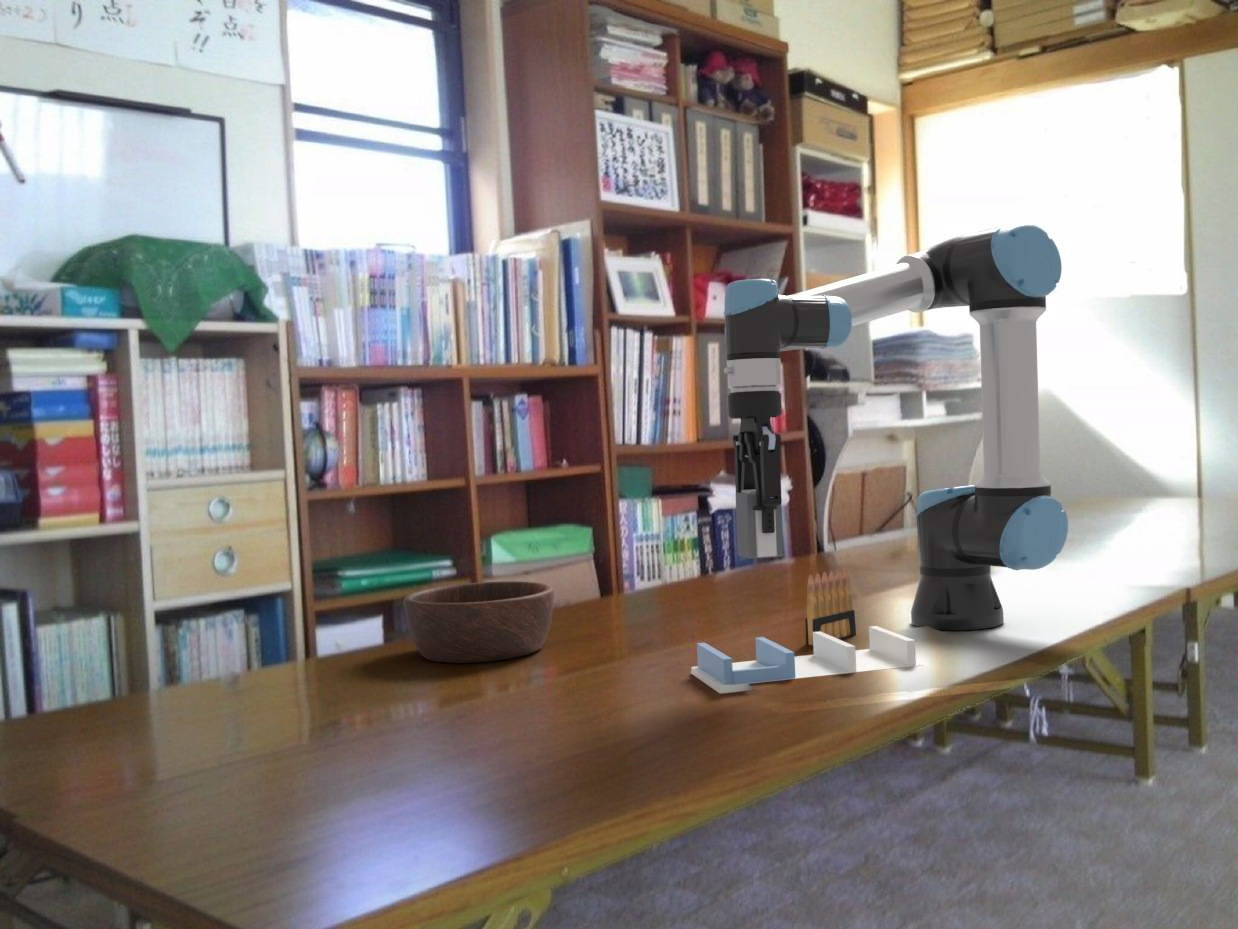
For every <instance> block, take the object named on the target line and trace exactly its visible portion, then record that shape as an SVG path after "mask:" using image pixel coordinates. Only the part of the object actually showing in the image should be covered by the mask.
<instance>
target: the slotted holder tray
mask: <svg viewBox="0 0 1238 929" xmlns="http://www.w3.org/2000/svg"><path fill="white" fill-rule="evenodd" d="M868 638H869V640H868V641H869V648H866V649H865V648H864V649H858V650H857V649H856V645H853V644H851V643H849V642H846V641H844V640H842V639H837V638H835V637H832V636H830V635H828V634H825V633H823V632H821V631H819V632H813V645H812V647H813V648H812V649H813V654H807V655H797V656H795V652H794V651H793V650H790V649H788V648H787V647H784V646H783V645H781V644H779V643H776V642H774V641H772V640H770V639H768V638H766V637H764V636H759V637H755V656H756V658H755V659H756V660H748V661H738V662H737V661H736V662H733V658H732V657H730V656H728V655H726V654H725V653H723V652H721V651H719V650H718V649H716V648H715V647H713V646H711V645H710V644H708V643H706V642H696V654H697V666H691V668H690V670H691V671H690V672H691V675H693V676H694V677H695V678H696V679H699V681H701V682H703V683H704V684H705V685H707V686H708V687H710V688H712V689H713V690H714V691H715V692H717V693H718V694H729V693H738V692H748V691H750V692H751V691H756V690H757V689H756V687H753V686H752V685H751V684H758V683H767V682H769V683H770V682H777V681H778V682H779V681H787V680H795V679H796V680H797V679H806V678H813V677H814V678H816V677H825V676H833V675H836V676H837V675H843V674H854V673H862V672H864V673H865V672H873V671H882V670H892V669H902V668H909V667H910V668H911V667H919V666H923V664H922V663H920V662H918V661H917V659H916V658H917V655H916V654H917V653H916V639H913V638H910V637H908V636H904V635H902V634H899V633H896V632H894V631H891V630H888V629H886V628H883V627H880V626H877V625H873V626H868Z"/></svg>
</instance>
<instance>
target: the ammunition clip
mask: <svg viewBox="0 0 1238 929" xmlns="http://www.w3.org/2000/svg"><path fill="white" fill-rule="evenodd" d="M806 587H807V589H806V590H807V593H806V597H807V598H806V617H807V618H805V620H804V621H805V622H804V623H805V626H804V628H805V645H806V646H809V645H810V646H813V632H819V631H821V632H823V633H825V634H828V635H830V636H832V637H835V638H837V639H839V640H842V639H847V638H849V637H853V636H857V628H856V627H857V626H856V614H855V609H853V597H852V596H853V595H852V591H851V582H850V574H849V572H848V569H847V568H846V567H844V568H843V571H842V573H841V570H840V568H838V569H836V572H835V573H834V572H833V570H832V569H831V570H830V571H829V574H828V575H827V573H826V571H823V573H822V576H820V574H819V573H818V572H817V573H816V574H815V578H813V575H812V574H811V573H810V574H809V575H808V580H807V586H806Z"/></svg>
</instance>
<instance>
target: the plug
mask: <svg viewBox="0 0 1238 929" xmlns="http://www.w3.org/2000/svg"><path fill="white" fill-rule="evenodd" d="M755 505H758V504H757V496H756V489H751V490H742V492H741V493H736V492H735V514H736V515H735V517H736V520H735V521H736V543H737V544H736V545H737V549H736V550H737V556H738V557H740V558H742V557H743V558H746V559H749V560H752V559H767V558H782V557H783V558H784V549H783V548H784V547H783V546H784V545H783V522H782V521H783V519H782V517H783V515H782V504H781V505H778V506H777V509H775V515H776V544H777V556H770V557H757V548H756V519H755V510H753V507H754V506H755Z"/></svg>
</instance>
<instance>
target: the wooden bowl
mask: <svg viewBox="0 0 1238 929" xmlns="http://www.w3.org/2000/svg"><path fill="white" fill-rule="evenodd" d="M554 592H555V591H554V588H553V587H552V586H551V585H550V584H548V583H542V582H535V581H518V580H517V581H512V580H511V581H510V580H509V581H507V580H506V581H483V582H469V583H459V584H449V585H443V586H437V587H431V588H425V589H422V590H417V591H414V592H411V593H409V594H407V595H405V597H404V599H403V608H404V613H405V614H404V615H405V618H406V623H407V627H408V630H409V634H410V637H411V639H412V642H413V644H414V646H415V648H416V649H417V651H418V652H419V654H420V655H421V656H422V657H423V658H424V659H426V660H429V661H433V662H438V663H447V664H449V663H450V664H451V663H452V664H472V663H487V662H488V663H489V662H496V661H497V662H498V661H504V660H511V659H515V658H516V659H517V658H521V657H525V656H528V655H530V654H533V653H536V652H537V651H539V650H540V649H541V648H542V647H543V645H544V643H545V642H546V640H547V637H548V635H549V632H550V629H551V625H552V620H553V619H552V618H553V611H554V598H555V596H554V594H555V593H554Z"/></svg>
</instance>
